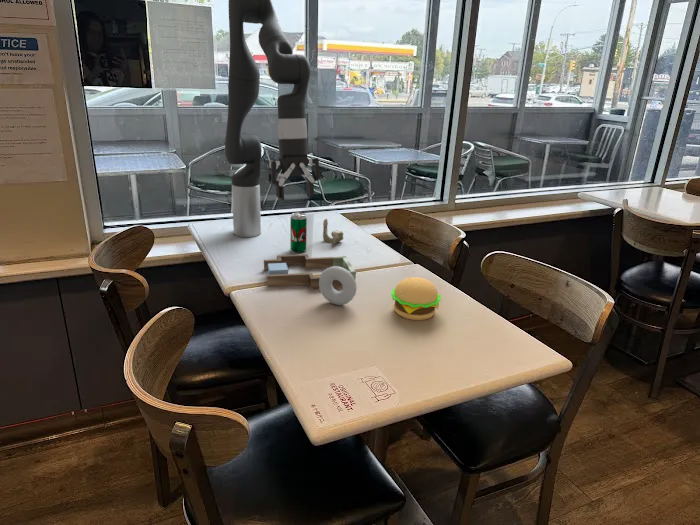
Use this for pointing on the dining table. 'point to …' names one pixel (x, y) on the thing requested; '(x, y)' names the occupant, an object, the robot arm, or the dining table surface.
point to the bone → (335, 234)
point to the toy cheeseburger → (415, 298)
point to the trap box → (309, 264)
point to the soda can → (298, 232)
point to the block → (277, 268)
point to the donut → (345, 280)
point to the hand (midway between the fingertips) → (295, 198)
